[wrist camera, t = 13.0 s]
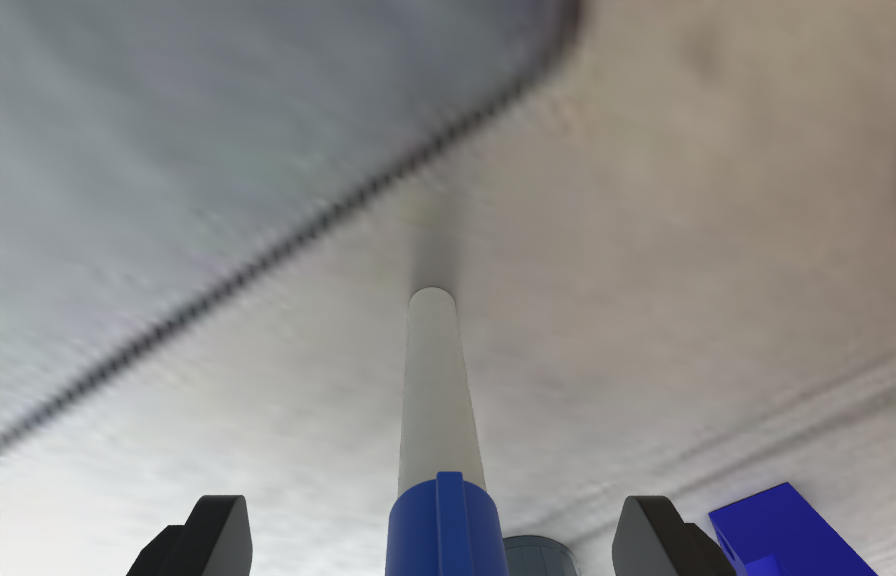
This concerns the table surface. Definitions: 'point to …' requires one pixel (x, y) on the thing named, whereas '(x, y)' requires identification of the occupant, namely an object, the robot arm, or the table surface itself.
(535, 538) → the tumbler
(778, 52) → the table surface
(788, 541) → the blue curved block
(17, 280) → the table surface
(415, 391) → the marker
